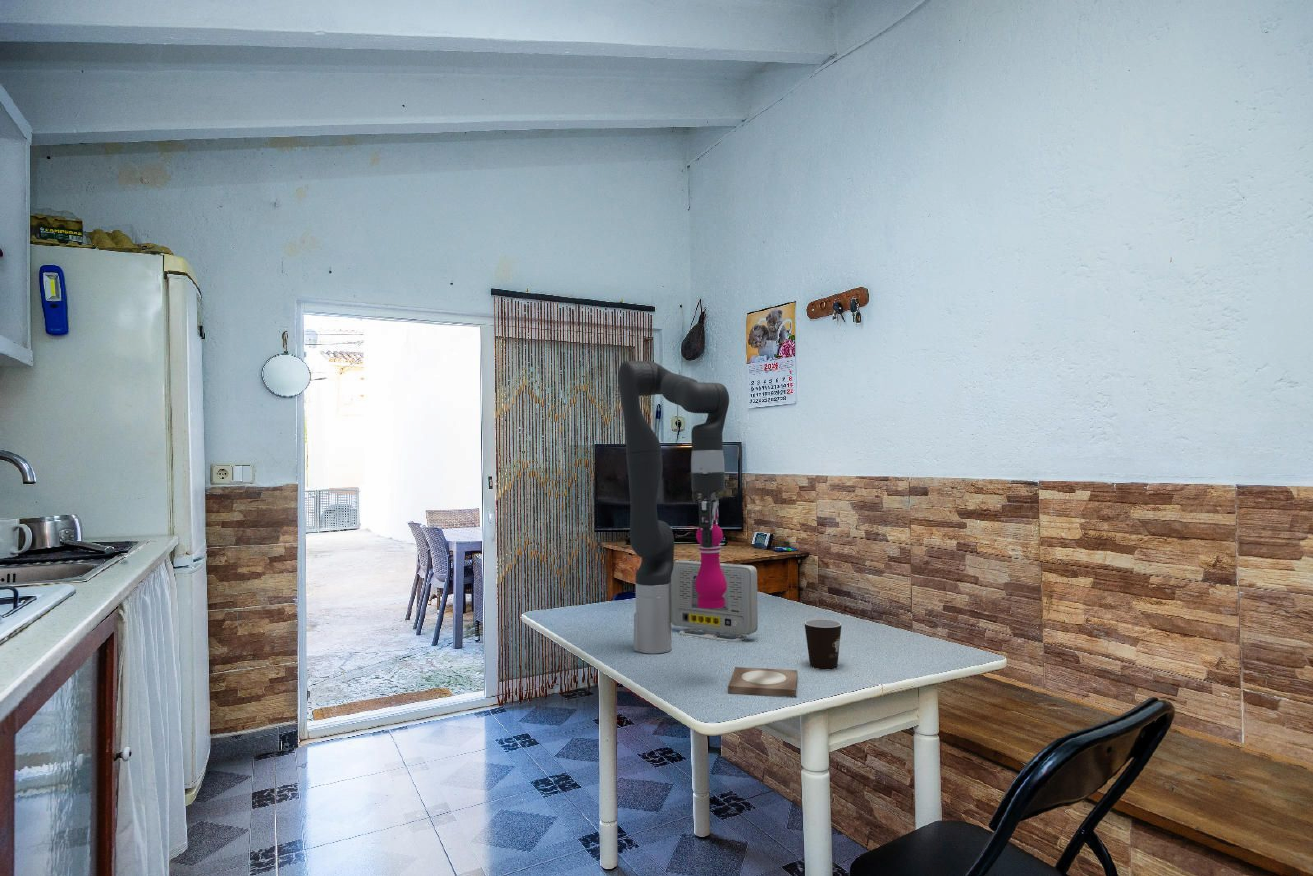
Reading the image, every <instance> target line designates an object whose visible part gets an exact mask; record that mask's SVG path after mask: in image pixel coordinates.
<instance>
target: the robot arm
mask: <svg viewBox="0 0 1313 876" xmlns="http://www.w3.org/2000/svg"><path fill="white" fill-rule="evenodd" d="M617 379H618V380H617V381H618V390H619V395H620V396H619V397H620V402H621V408H622V414H623V421H624V422H623V423H624V424H623V425H624V432H625V434H624V435H625V449H626V450H625V451H626V455H625V456H626V464H627V465H626V466H627V474H628V487H629V488H628V489H629V498H630V500H629V503H630V504H629V505H630V519H629V525H630V526H629V540H630V545H631V549H632V551H634V553H635V555H636V556H638V557H640V558H641V561H640V562H641V563H640V565H639V567H638V569H637V570H636V572H635V578H634V579H635V612H634V613H633V651H634V652H639V653H644V654H663V653H668V652H670V651H671V650H672V649H673V648H672V645H673V644H672V642H673V641H672V640H673V639H672V623H671V574H672V571H673V566H674V562H675V561H674V558H675V538H674V533H673V530H672V528H671V526H670V525H669V524H668V523H667V522H665V521H664V520H659V517H658V509H657V506H658V505H657V502H658V501H657V499H658V495H659V490H660V485H661V481H662V478H663V469H664V467H663V453H662V444H661V442H660V440H659V438H658V436H657V435H656V433H655V432H654V430H653V429H652V427H651V426H650V425H649V423H648V421H647V419H645V417H644V414H643V412H642V410H641V405H640V400H639V397H650V396H654V395H662V396H663V398H664V399H665V400H666V401H668V402H670V403H672V404H675V405H677V406H680V407H681V408H682V409H683V410H684V411H685V412H688V413H691V414H707V417H706V420H705V422H704V423H701V424H697V425H693V427H692V428H691V437H690V438H691V457H690V458H691V459H690V476H691V477H690V478H691V480H690V481H691V492H693V493H700V494H701V497H700V500H698V502H697V505H698V522H699V524H698V528H699V527H700V528H701V530H702V546H703V547H704V548H711V547H712V546H713V538H712V529H713V524H716V525H718V524H719V522H720V521H719V504H720V503H719V498H718V497H717V496H716V493H721V492H725V490H726V481H725V479H726V478H725V475H726V474H725V473H726V472H725V457H724V447H723V445H724V444H723V433H724V432H723V431H724V426H725V424H726V423H725V421H726V418H727V413H728V409H729V406H730V405H729V404H730V394H729V392H728V389H727V387H726V386H725V385H724V384H723V383H720V382H701V381H698V380H696V379H695V378H692V377H688V376H685V375H682V374H677V373H673V372H671V370H668V369H667V368H665V367H664V366H662V365H661V364H659V363H657V362H654V361H651V360H625V361H623V362H622V363H621V364H620V366H619V368H618V375H617ZM705 521H708V523H706V522H705ZM718 526H719V525H718Z"/></svg>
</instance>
